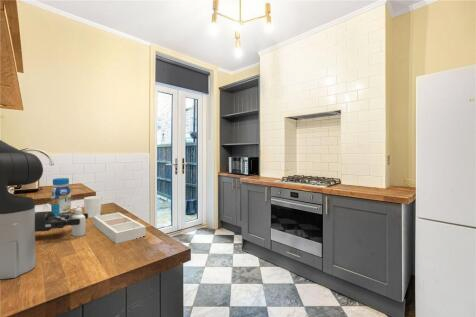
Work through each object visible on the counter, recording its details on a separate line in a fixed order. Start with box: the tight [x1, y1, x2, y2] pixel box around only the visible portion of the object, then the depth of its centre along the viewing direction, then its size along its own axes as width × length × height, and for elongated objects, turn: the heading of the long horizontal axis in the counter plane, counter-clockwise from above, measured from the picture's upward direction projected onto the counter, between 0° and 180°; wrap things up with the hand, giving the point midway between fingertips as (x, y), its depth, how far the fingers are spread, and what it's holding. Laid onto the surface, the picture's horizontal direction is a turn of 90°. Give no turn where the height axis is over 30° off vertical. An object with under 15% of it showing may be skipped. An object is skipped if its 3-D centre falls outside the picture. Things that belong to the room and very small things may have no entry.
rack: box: [92, 212, 147, 245], centre depth 98 cm, size 31×11×4 cm, turn 46°
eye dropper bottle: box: [71, 205, 87, 237], centre depth 92 cm, size 4×6×12 cm
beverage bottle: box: [50, 177, 72, 216], centre depth 119 cm, size 8×8×20 cm
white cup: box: [83, 195, 102, 219], centre depth 120 cm, size 8×8×10 cm
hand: (83, 218), depth 92 cm, fingers open, 8 cm apart
